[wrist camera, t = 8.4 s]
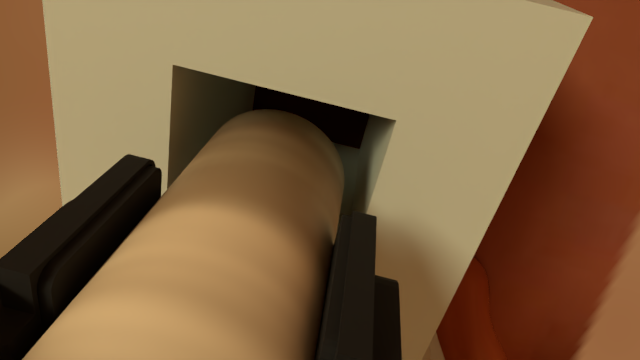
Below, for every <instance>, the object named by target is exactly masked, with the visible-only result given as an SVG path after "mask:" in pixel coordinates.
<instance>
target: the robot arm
mask: <svg viewBox="0 0 640 360" xmlns="http://www.w3.org/2000/svg"><path fill="white" fill-rule="evenodd" d="M161 183H162V171H161V169H160V168H157V167H155V162H154V161H153V160H151V159H147V158H143V157H139V156H135V155H131V154H127V155H125V156H124V157H123V158H122V159H120V160H119V161H118V162H117V163H116V164H114V165H113V166H112V167H111V168H110V169H109V170H107V171H106V172H105V173H104V174H103V175H102V176H100V177H99V178H98V179H97V180H96V181H94V182H93V183H92V184H91V185H90V186H89V187H87V188H86V189H85V190H84V191H83V192H82V193H80V194H79V195H78V196H77V197H76V198H74V199H73V200H71V201H69V202H68V203H66V204H65V205H64V206H62V207H61V208H60V209H59V210H58V211H57V212H55V213H54V214H53V215H52V216H51V217H49V218H48V219H47V220H46V221H45V222H43V223H42V224H41V225H40V226H39V227H38V228H36V229H35V230H34V231H33V232H32V233H30V234H29V235H28V236H27V237H26V238H24V239H23V240H22V241H21V242H20V243H19V244H17V245H16V246H15V247H14V248H13V249H11V250H10V251H9V252H8V253H7V254H6V255H5V256H3V257H2V258H1V259H0V360H22V359H23V358H24V357H25V356H26V354H27V353H28V352H29V351H30V350H31V349H32V347H33V346H34V345H35V344H36V343H37V342H38V340H39V339H40V338H41V337H42V336H43V334H44V333H45V332H46V331H47V330H48V329H49V327H50V326H51V325H52V324H53V323H54V322H55V320H56V319H57V318H58V317H59V316H60V315H61V313H62V312H63V311H64V310H65V309H66V308H67V306H68V305H69V304H70V303H71V302H72V300H73V299H74V298H75V297H76V296H77V295H78V293H79V292H80V291H81V290H82V289H83V288H84V286H85V285H86V284H87V283H88V282H89V281H90V279H91V278H92V277H93V276H94V275H95V274H96V272H97V271H98V270H99V269H100V268H101V266H102V265H103V264H104V263H105V262H106V261H107V259H108V258H109V257H110V256H111V255H112V254H113V252H114V251H115V250H116V249H117V248H118V247H119V245H120V244H121V243H122V242H123V241H124V240H125V238H126V237H127V236H128V235H129V234H130V232H131V231H132V230H133V229H134V228H135V227H136V225H137V224H138V223H139V222H140V221H141V220H142V218H143V217H144V216H145V215H146V214H147V213H148V211H149V210H150V209H151V208H152V207H153V205H154V204H155V203H156V202H157V201H158V200H159V198H160V197H161ZM376 226H377V217H376V216H373V215H369V214H365V213H361V212H357V211H353V212H352V214H351V216H348V215H344V214H343V215H342V218H341V221H340V224H339V228H338V231H337V235H336V238H335V242H334V245H333V251H332V257H331V262H330V268H329V274H328V280H327V286H326V292H325V298H324V304H323V310H322V316H321V322H320V328H319V334H318V340H317V346H316V352H315V358H314V360H402V349H401V323H400V298H399V283H398V281H397V280H393V279H389V278H385V277H381V276H378V275H375V259H376Z"/></svg>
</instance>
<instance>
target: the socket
mask: <svg viewBox="0 0 640 360" xmlns="http://www.w3.org/2000/svg"><path fill="white" fill-rule="evenodd" d="M42 1H43V11H44V22H45V32H46V42H47V53H48V63H49V73H50V83H51V94H52V103H53V114H54V125H55V135H56V143H57V144H56V145H57V155H58V166H59V176H60V186H61V196H62V206H64V205H65V204H66V203H68V202H69V201H71V200H73V199H74V198H76V197H77V196H78V195H79V194H80V193H82V192H83V191H84V190H85V189H86V188H87V187H89V186H90V185H91V184H92V183H93V182H94V181H96V180H97V179H98V178H99V177H100V176H102V175H103V174H104V173H105V172H106V171H107V170H109V169H110V168H111V167H112V166H113V165H114V164H116V163H117V162H118V161H119V160H120V159H122V158H123V157H124V156H125V155H127V154H131V155H135V156H139V157H143V158H147V159H151V160H153V161H154V162H155V167H157V168H160V169H161V171H162V183H161V196H162V195H163V194H164V193H165V191H166V190H167V189H168V188H169V187H170V186H171V184H172V183H173V182H174V181H175V180H176V179H177V177H178V176H179V175H180V174H181V173H182V171H183V170H184V169H185V168H186V167H187V166H188V164H189V163H190V162H191V161H192V160H193V159H194V157H195V156H196V155H197V154H198V153H199V152H200V150H201V149H202V148H203V147H204V146H205V145H206V143H207V142H208V141H209V140H210V139H211V137H212V136H213V135H214V134H215V133H216V132H217V130H218V129H219V128H220V127H221V126H222V125H223V124H225V123H226V122H227V121H229V120H230V119H232V118H234V117H236V116H237V115H240V114H242V113H245V112H249V111H252V109H253V102H254V95H255V88H256V86H260V87H264V88H268V89H272V90H276V91H280V92H284V93H288V94H292V95H296V96H300V97H304V98H308V99H312V100H316V101H320V102H324V103H328V104H332V105H336V106H340V107H344V108H348V109H352V110H356V111H360V112H364V113H368V114H370V115H369V118H368V122H367V125H366V129H365V132H364V135H363V139H362V142H361V146H360V149H357V148H353V147H349V146H345V145H341V144H337V143H333V142H332V143H333V144H334V146H335V148H336V150H337V151H338V153H339V156H340V158H341V161H342V165H343V169H344V177H345V179H344V190H343V196H342V203H341V209H340V215H339V221H338V227H337V231H338V228H339V224H340V221H341V218H342V215H343V214H344V215H348V216H351V214H352V212H353V211H357V212H361V213H365V214H369V215H373V216H376V217H377V226H376V259H375V275H378V276H381V277H385V278H389V279H393V280H397V281H398V283H399V298H400V323H401V349H402V360H422V358H423V356H424V354H425V352H426V350H427V348H428V346H429V344H430V342H431V340H432V338H433V336H434V334H435V332H436V330H437V328H438V326H439V324H440V322H441V320H442V318H443V316H444V314H445V312H446V310H447V308H448V306H449V304H450V302H451V300H452V298H453V296H454V294H455V292H456V290H457V288H458V286H459V284H460V282H461V280H462V278H463V276H464V274H465V272H466V270H467V268H468V266H469V264H470V262H471V260H472V258H473V256H474V254H475V252H476V250H477V248H478V246H479V244H480V242H481V240H482V238H483V236H484V234H485V232H486V230H487V228H488V226H489V224H490V222H491V220H492V218H493V216H494V214H495V212H496V210H497V208H498V206H499V204H500V202H501V200H502V198H503V196H504V194H505V192H506V190H507V188H508V186H509V184H510V182H511V180H512V178H513V176H514V174H515V172H516V170H517V168H518V166H519V164H520V162H521V160H522V158H523V156H524V154H525V152H526V150H527V148H528V146H529V144H530V142H531V140H532V138H533V136H534V134H535V132H536V130H537V128H538V126H539V124H540V122H541V120H542V118H543V116H544V114H545V112H546V111H547V109H548V107H549V105H550V103H551V101H552V99H553V97H554V95H555V93H556V91H557V89H558V87H559V85H560V83H561V81H562V79H563V77H564V75H565V73H566V71H567V69H568V67H569V65H570V63H571V61H572V59H573V57H574V55H575V53H576V51H577V49H578V47H579V45H580V43H581V41H582V39H583V37H584V35H585V33H586V31H587V29H588V27H589V25H590V23H591V21H592V19H593V17H592V16H589V15H587V14H584V13H582V12H580V11H577V10H575V9H572V8H570V7H567V6H565V5H563V4H560V3H558V2H555V1H553V0H42ZM336 235H337V233H336Z"/></svg>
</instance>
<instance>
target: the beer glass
mask: <svg viewBox="0 0 640 360" xmlns="http://www.w3.org/2000/svg"><path fill="white" fill-rule="evenodd" d="M422 360H508V359H507V357H506V355H505V353H504V351H503V349H502V347H501V345H500V343H499V340H498V338H497V336H496V334H495V331H494V328H493V325H492V321H491V317H490V307H489V282H488V277H487V274H486V272H485V270H484V268H483V266H482V265H481V263H480V262H479V261H478V260H477V259H476V258H475V257H474V256H473V258H472V260H471V262H470V264H469V266H468V268H467V270H466V272H465V274H464V276H463V278H462V280H461V282H460V284H459V286H458V288H457V290H456V292H455V294H454V296H453V298H452V300H451V302H450V304H449V306H448V308H447V310H446V312H445V314H444V316H443V318H442V320H441V322H440V324H439V326H438V328H437V330H436V332H435V334H434V336H433V338H432V340H431V342H430V344H429V346H428V348H427V350H426V352H425V354H424V356H423V358H422Z"/></svg>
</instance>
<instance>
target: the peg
mask: <svg viewBox="0 0 640 360" xmlns="http://www.w3.org/2000/svg"><path fill="white" fill-rule="evenodd" d="M344 179H345V177H344V169H343V165H342V161H341V158H340V156H339V153H338V151H337V150H336V148H335V146H334V144H333V143H332V142H331V141H330V139H329V138H328V137H327V136H326V135H325V134H324V133H323V132H322V131H321V130H320V129H319V128H318V127H316V126H315V125H314V124H312V123H311V122H309V121H308V120H306V119H304V118H302V117H300V116H297V115H295V114H292V113H289V112H285V111H280V110H272V109H262V110H254V111H249V112H245V113H242V114H240V115H237V116H236V117H234V118H232V119H230V120H229V121H227V122H226V123H225V124H223V125H222V126H221V127H220V128H219V129H218V130H217V132H216V133H215V134H214V135H213V136H212V137H211V139H210V140H209V141H208V142H207V143H206V145H205V146H204V147H203V148H202V149H201V150H200V152H199V153H198V154H197V155H196V156H195V157H194V159H193V160H192V161H191V162H190V163H189V164H188V166H187V167H186V168H185V169H184V170H183V171H182V173H181V174H180V175H179V176H178V177H177V179H176V180H175V181H174V182H173V183H172V184H171V186H170V187H169V188H168V189H167V190H166V191H165V193H164V194H163V195H162V196H161V197H160V198H159V200H158V201H157V202H156V203H155V204H154V205H153V207H152V208H151V209H150V210H149V211H148V213H147V214H146V215H145V216H144V217H143V218H142V220H141V221H140V222H139V223H138V224H137V225H136V227H135V228H134V229H133V230H132V231H131V232H130V234H129V235H128V236H127V237H126V238H125V240H124V241H123V242H122V243H121V244H120V245H119V247H118V248H117V249H116V250H115V251H114V252H113V254H112V255H111V256H110V257H109V258H108V259H107V261H106V262H105V263H104V264H103V265H102V266H101V268H100V269H99V270H98V271H97V272H96V274H95V275H94V276H93V277H92V278H91V279H90V281H89V282H88V283H87V284H86V285H85V286H84V288H83V289H82V290H81V291H80V292H79V293H78V295H77V296H76V297H75V298H74V299H73V300H72V302H71V303H70V304H69V305H68V306H67V308H66V309H65V310H64V311H63V312H62V313H61V315H60V316H59V317H58V318H57V319H56V320H55V322H54V323H53V324H52V325H51V326H50V327H49V329H48V330H47V331H46V332H45V333H44V334H43V336H42V337H41V338H40V339H39V340H38V342H37V343H36V344H35V345H34V346H33V347H32V349H31V350H30V351H29V352H28V353H27V354H26V356H25V357H24V358H23V359H22V360H314V358H315V352H316V346H317V340H318V334H319V328H320V322H321V316H322V310H323V304H324V298H325V292H326V286H327V280H328V274H329V268H330V262H331V257H332V251H333V245H334V242H335V238H336V233H337V227H338V221H339V215H340V209H341V203H342V196H343V190H344Z"/></svg>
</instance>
